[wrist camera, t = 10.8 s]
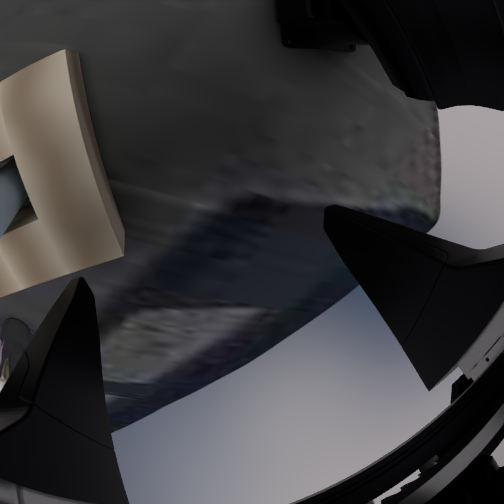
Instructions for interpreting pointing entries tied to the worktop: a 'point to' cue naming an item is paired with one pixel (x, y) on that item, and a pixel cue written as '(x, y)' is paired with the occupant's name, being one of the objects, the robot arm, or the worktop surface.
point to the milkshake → (11, 347)
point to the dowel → (10, 194)
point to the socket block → (54, 177)
